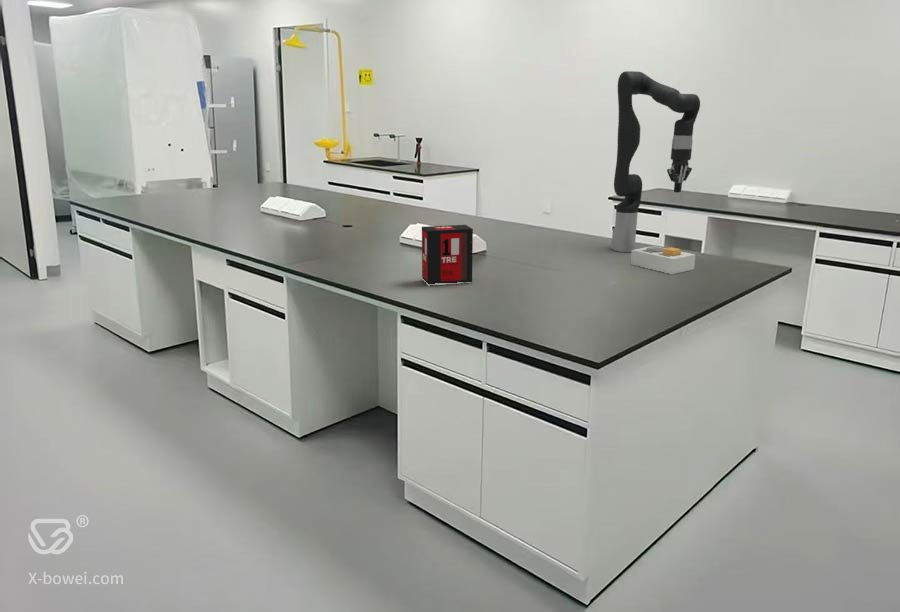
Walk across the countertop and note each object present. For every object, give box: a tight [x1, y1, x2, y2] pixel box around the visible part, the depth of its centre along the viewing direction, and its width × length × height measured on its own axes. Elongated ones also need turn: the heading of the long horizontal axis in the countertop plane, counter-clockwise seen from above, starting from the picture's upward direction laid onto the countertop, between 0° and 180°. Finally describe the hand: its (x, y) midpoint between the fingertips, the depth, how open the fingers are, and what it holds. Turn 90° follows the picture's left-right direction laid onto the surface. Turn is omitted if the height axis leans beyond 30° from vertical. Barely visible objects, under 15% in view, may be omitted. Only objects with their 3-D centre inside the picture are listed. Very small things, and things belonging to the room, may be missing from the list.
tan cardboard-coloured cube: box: [663, 247, 682, 256], centre depth 268 cm, size 5×5×4 cm
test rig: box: [629, 245, 696, 275], centre depth 272 cm, size 20×14×6 cm
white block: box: [645, 246, 665, 253], centre depth 275 cm, size 5×5×4 cm
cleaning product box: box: [421, 224, 474, 284], centre depth 247 cm, size 16×9×20 cm, turn 105°
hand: (677, 192), depth 270 cm, fingers closed
